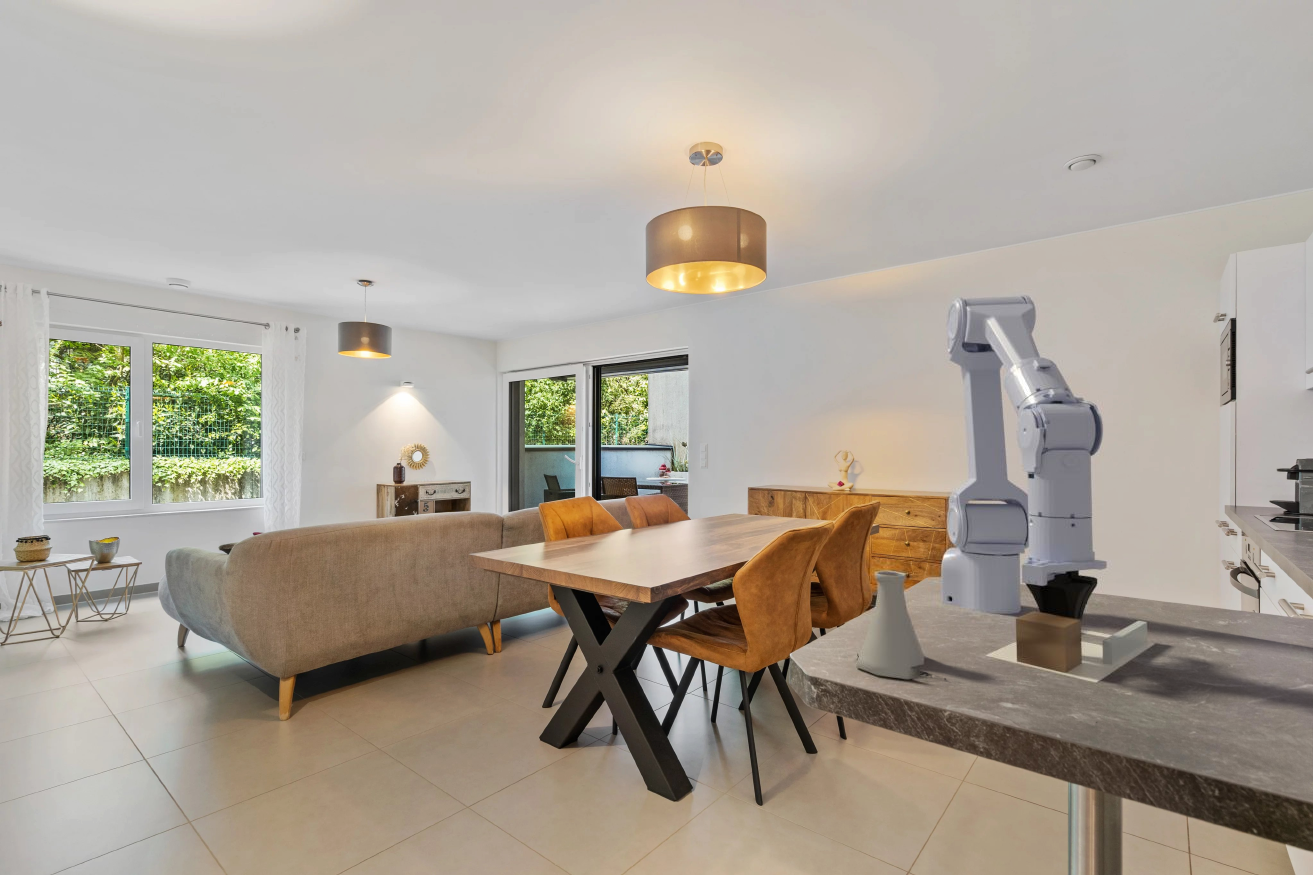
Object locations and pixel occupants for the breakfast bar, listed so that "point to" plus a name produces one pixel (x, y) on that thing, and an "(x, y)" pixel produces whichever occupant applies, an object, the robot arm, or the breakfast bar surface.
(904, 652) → the flask
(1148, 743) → the breakfast bar surface
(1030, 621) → the walnut block
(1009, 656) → the trap channel
